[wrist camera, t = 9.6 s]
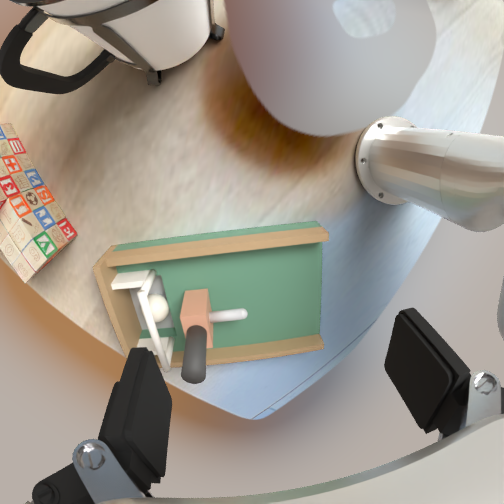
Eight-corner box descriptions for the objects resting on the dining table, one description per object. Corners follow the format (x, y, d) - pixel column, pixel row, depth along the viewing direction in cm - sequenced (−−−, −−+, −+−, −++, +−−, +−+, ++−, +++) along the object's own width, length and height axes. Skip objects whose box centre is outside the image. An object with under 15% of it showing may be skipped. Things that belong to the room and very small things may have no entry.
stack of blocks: (79, 233, 36) (35, 271, 24) (55, 256, 36) (12, 297, 25) (11, 122, 28) (-44, 127, 16) (-9, 150, 29) (-62, 163, 17)
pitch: (316, 221, 38) (341, 245, 30) (314, 329, 45) (331, 366, 37) (111, 245, 37) (86, 275, 28) (143, 347, 44) (132, 387, 35)
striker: (243, 284, 38) (254, 351, 26) (247, 315, 40) (258, 385, 28) (185, 290, 37) (172, 358, 25) (192, 321, 39) (184, 392, 27)
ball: (132, 301, 36) (148, 287, 40) (140, 325, 38) (154, 310, 41) (155, 305, 35) (171, 289, 39) (163, 330, 37) (177, 313, 40)
